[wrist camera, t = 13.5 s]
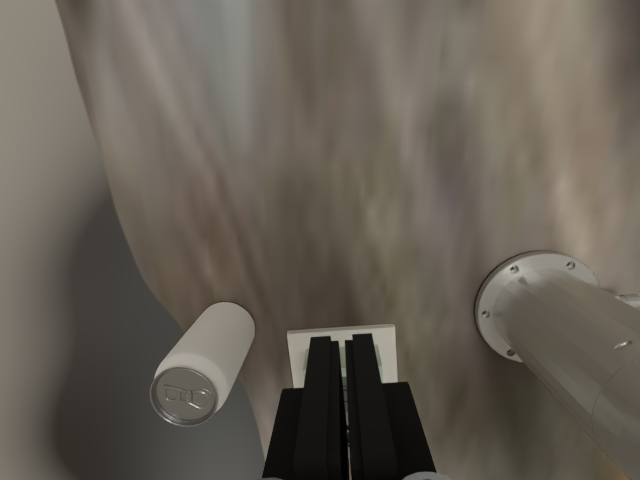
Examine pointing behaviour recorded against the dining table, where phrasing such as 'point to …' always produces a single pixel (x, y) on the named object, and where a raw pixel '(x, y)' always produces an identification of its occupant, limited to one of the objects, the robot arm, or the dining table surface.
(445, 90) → the dining table surface
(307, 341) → the baseplate
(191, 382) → the can
